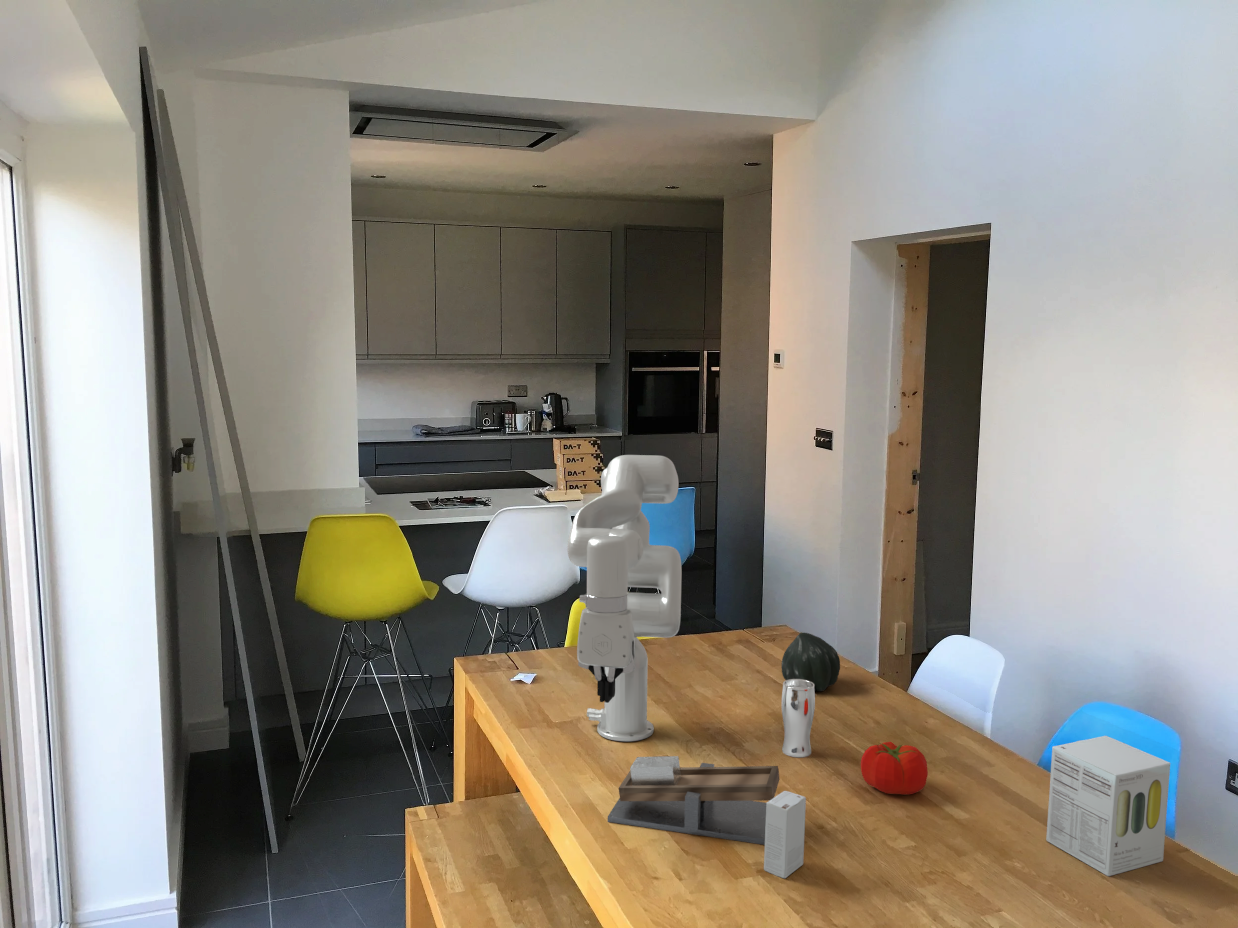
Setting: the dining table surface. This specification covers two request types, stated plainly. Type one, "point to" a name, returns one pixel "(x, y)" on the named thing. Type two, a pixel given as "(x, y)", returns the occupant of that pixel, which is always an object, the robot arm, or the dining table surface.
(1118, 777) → the supplement box
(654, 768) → the steel block
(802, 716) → the beer glass
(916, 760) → the tomato
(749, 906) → the dining table surface
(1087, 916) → the dining table surface
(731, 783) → the long rimmed wooden tray
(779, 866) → the skincare box
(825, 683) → the squash
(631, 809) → the pivot stand
